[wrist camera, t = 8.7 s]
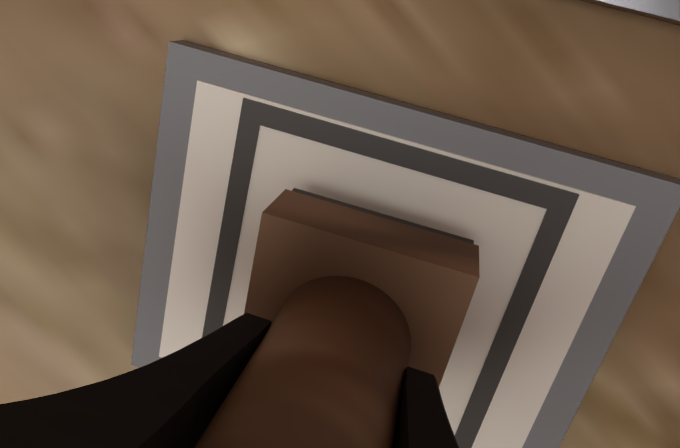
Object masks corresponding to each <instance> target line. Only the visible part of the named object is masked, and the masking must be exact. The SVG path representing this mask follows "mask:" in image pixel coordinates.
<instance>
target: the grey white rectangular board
mask: <svg viewBox="0 0 680 448" xmlns="http://www.w3.org/2000/svg"><path fill="white" fill-rule="evenodd" d="M294 188H297V189H300V190H303V191H307V192H310V193H314V194H317V195H321V196H324V197H327V198H331V199H334V200H338V201H341V202H344V203H348V204H351V205H355V206H358V207H362V208H365V209H368V210H372V211H375V212H379V213H382V214H386V215H389V216H392V217H396V218H399V219H403V220H406V221H409V222H413V223H416V224H420V225H423V226H427V227H430V228H433V229H437V230H440V231H444V232H447V233H450V234H454V235H457V236H461V237H464V238H468V239H471V240H474V244H475V245H478V246H479V275H480V278H479V280H478V283H477V286H476V289H475V291H474V294H473V297H472V299H471V302H470V305H469V307H468V310H467V313H466V316H465V318H464V321H463V324H462V326H461V329H460V332H459V335H458V337H457V340H456V343H455V345H454V348H453V351H452V353H451V356H450V359H449V362H448V364H447V367H446V370H445V372H444V375H443V378H442V381H441V383H440V386H439V390H440V394H441V397H442V401H443V404H444V407H445V410H446V413H447V416H448V419H449V422H450V425H451V428H452V431H453V433H454V436H455V438H456V441H457V443H458V446H459V448H559V446H560V444H561V442H562V440H563V438H564V436H565V434H566V432H567V430H568V428H569V426H570V424H571V422H572V420H573V418H574V416H575V414H576V412H577V410H578V408H579V406H580V404H581V402H582V400H583V398H584V396H585V394H586V392H587V390H588V388H589V386H590V384H591V382H592V380H593V378H594V376H595V374H596V372H597V370H598V368H599V366H600V364H601V362H602V360H603V358H604V356H605V354H606V352H607V350H608V349H609V347H610V345H611V343H612V341H613V339H614V337H615V335H616V333H617V331H618V329H619V327H620V325H621V323H622V321H623V319H624V317H625V315H626V313H627V311H628V309H629V307H630V305H631V303H632V301H633V299H634V297H635V295H636V293H637V291H638V289H639V287H640V285H641V283H642V281H643V279H644V277H645V275H646V273H647V271H648V269H649V267H650V265H651V263H652V261H653V259H654V257H655V255H656V253H657V251H658V249H659V247H660V245H661V243H662V241H663V239H664V238H665V236H666V234H667V232H668V230H669V228H670V226H671V224H672V222H673V220H674V218H675V216H676V214H677V212H678V210H679V208H680V180H679V179H677V178H673V177H670V176H666V175H662V174H659V173H655V172H652V171H648V170H645V169H641V168H637V167H634V166H630V165H627V164H623V163H620V162H616V161H612V160H609V159H605V158H602V157H598V156H594V155H591V154H587V153H584V152H580V151H577V150H573V149H569V148H566V147H562V146H559V145H555V144H552V143H548V142H544V141H541V140H537V139H534V138H530V137H526V136H523V135H519V134H516V133H512V132H509V131H505V130H501V129H498V128H494V127H491V126H487V125H484V124H480V123H476V122H473V121H469V120H466V119H462V118H459V117H455V116H451V115H448V114H444V113H441V112H437V111H433V110H430V109H426V108H423V107H419V106H416V105H412V104H408V103H405V102H401V101H398V100H394V99H391V98H387V97H383V96H380V95H376V94H373V93H369V92H365V91H362V90H358V89H355V88H351V87H348V86H344V85H340V84H337V83H333V82H330V81H326V80H323V79H319V78H315V77H312V76H308V75H305V74H301V73H298V72H294V71H290V70H287V69H283V68H280V67H276V66H272V65H269V64H265V63H262V62H258V61H255V60H251V59H247V58H244V57H240V56H237V55H233V54H230V53H226V52H222V51H219V50H215V49H212V48H208V47H204V46H201V45H197V44H194V43H190V42H187V41H183V40H181V41H169V46H168V55H167V63H166V72H165V80H164V89H163V97H162V106H161V114H160V123H159V131H158V140H157V149H156V157H155V166H154V174H153V183H152V191H151V200H150V208H149V217H148V225H147V234H146V243H145V251H144V260H143V268H142V277H141V285H140V294H139V302H138V311H137V319H136V328H135V337H134V345H133V354H132V362H131V365H134V366H137V367H143V366H145V365H148V364H150V363H152V362H154V361H156V360H158V359H161V358H163V357H165V356H167V355H169V354H171V353H174V352H176V351H178V350H180V349H182V348H184V347H185V346H187V345H189V344H191V343H193V342H195V341H197V340H199V339H201V338H202V337H204V336H206V335H208V334H210V333H211V332H213V331H215V330H217V329H219V328H220V327H222V326H224V325H225V324H227V323H229V322H231V321H232V320H234V319H236V318H238V317H239V316H241V315H243V314H244V310H245V305H246V299H247V294H248V288H249V282H250V277H251V271H252V266H253V260H254V255H255V249H256V243H257V238H258V232H259V227H260V221H261V216H262V212H263V211H264V210H265V209H266V208H267V207H268V206H269V205H270V204H271V203H272V202H273V201H274V200H275V199H276V198H277V197H278V196H279V195H280V194H281V193H282V192H283V191H284V190H285V189H287V190H291V191H292V190H293V189H294Z"/></svg>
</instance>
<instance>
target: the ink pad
mask: <svg viewBox="0 0 680 448" xmlns="http://www.w3.org/2000/svg"><path fill="white" fill-rule="evenodd" d="M581 1H585V2H589V3H593V4H597V5H601V6H605V7H609V8H613V9H617V10H621V11H625V12H629V13H633V14H637V15H641V16H645V17H649V18H653V19H657V20H661V21H665V22H669V23H673V24H677V25H680V0H581Z"/></svg>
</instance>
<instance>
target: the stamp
mask: <svg viewBox="0 0 680 448" xmlns="http://www.w3.org/2000/svg"><path fill="white" fill-rule="evenodd" d="M479 278H480V275H479V246H478V245H475V244H474V240H471V239H468V238H464V237H461V236H457V235H454V234H450V233H447V232H444V231H440V230H437V229H433V228H430V227H427V226H423V225H420V224H416V223H413V222H409V221H406V220H403V219H399V218H396V217H392V216H389V215H386V214H382V213H379V212H375V211H372V210H368V209H365V208H362V207H358V206H355V205H351V204H348V203H344V202H341V201H338V200H334V199H331V198H327V197H324V196H321V195H317V194H314V193H310V192H307V191H303V190H300V189H297V188H294V189H293V190H292V191H291V190H287V189H285V190H284V191H283V192H282V193H281V194H280V195H279V196H278V197H277V198H276V199H275V200H274V201H273V202H272V203H271V204H270V205H269V206H268V207H267V208H266V209H265V210H264V211H263V212H262V216H261V221H260V227H259V232H258V238H257V243H256V249H255V255H254V260H253V266H252V271H251V277H250V282H249V288H248V294H247V299H246V305H245V310H244V314H245V313H249V314H252V315H255V316H258V317H261V318H264V319H267V320H270V321H272V323H271V326H270V328H269V329H268V331H267V333H266V334H265V336H264V337H263V339H262V340H261V342H260V344H259V345H258V347H257V348H256V350H255V352H254V353H253V355H252V356H251V358H250V360H249V361H248V363H247V364H246V366H245V368H244V369H243V371H242V372H241V374H240V375H239V377H238V379H237V380H236V382H235V383H234V385H233V387H232V388H231V390H230V391H229V393H228V395H227V396H226V398H225V399H224V401H223V403H222V404H221V406H220V407H219V409H218V410H217V412H216V414H215V415H214V417H213V418H212V420H211V422H210V423H209V425H208V426H207V428H206V430H205V431H204V433H203V434H202V436H201V438H200V439H199V441H198V442H197V444H196V446H195V447H194V448H392V446H393V440H394V435H395V429H396V424H397V417H398V411H399V404H400V398H401V393H402V387H403V382H404V377H405V371H406V368H407V366H409V367H412V368H415V369H418V370H421V371H424V372H427V373H430V374H433V375H434V376H435V378H436V380H437V382H438V386H440V383H441V381H442V378H443V375H444V372H445V370H446V367H447V364H448V362H449V359H450V356H451V353H452V351H453V348H454V345H455V343H456V340H457V337H458V335H459V332H460V329H461V326H462V324H463V321H464V318H465V316H466V313H467V310H468V307H469V305H470V302H471V299H472V297H473V294H474V291H475V289H476V286H477V283H478V280H479Z"/></svg>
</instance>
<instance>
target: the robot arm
mask: <svg viewBox="0 0 680 448" xmlns="http://www.w3.org/2000/svg"><path fill="white" fill-rule="evenodd" d="M271 323H272V321H270V320H267V319H264V318H261V317H258V316H255V315H252V314H249V313H245V314H243V315H241V316H239V317H238V318H236V319H234V320H232V321H231V322H229V323H227V324H225V325H224V326H222V327H220V328H219V329H217V330H215V331H213V332H211V333H210V334H208V335H206V336H204V337H202V338H201V339H199V340H197V341H195V342H193V343H191V344H189V345H187V346H185V347H184V348H182V349H180V350H178V351H176V352H174V353H171V354H169V355H167V356H165V357H163V358H161V359H158V360H156V361H154V362H152V363H150V364H148V365H145V366H143V367H140V368H138V369H135V370H133V371H130V372H127V373H124V374H121V375H119V376H116V377H113V378H110V379H107V380H104V381H101V382H97V383H94V384H90V385H86V386H83V387H79V388H75V389H72V390H68V391H64V392H61V393H57V394H52V395H48V396H43V397H38V398H33V399H28V400H23V401H17V402H12V403H6V404H0V448H194V447H195V446H196V444H197V442H198V441H199V439H200V438H201V436H202V434H203V433H204V431H205V430H206V428H207V426H208V425H209V423H210V422H211V420H212V418H213V417H214V415H215V414H216V412H217V410H218V409H219V407H220V406H221V404H222V403H223V401H224V399H225V398H226V396H227V395H228V393H229V391H230V390H231V388H232V387H233V385H234V383H235V382H236V380H237V379H238V377H239V375H240V374H241V372H242V371H243V369H244V368H245V366H246V364H247V363H248V361H249V360H250V358H251V356H252V355H253V353H254V352H255V350H256V348H257V347H258V345H259V344H260V342H261V340H262V339H263V337H264V336H265V334H266V333H267V331H268V329H269V328H270V326H271ZM392 448H459V446H458V443H457V441H456V438H455V436H454V433H453V431H452V428H451V425H450V422H449V419H448V416H447V413H446V410H445V407H444V404H443V401H442V397H441V394H440V390H439V386H438V382H437V380H436V378H435V376H434V375H433V374H430V373H427V372H424V371H421V370H418V369H415V368H412V367H409V366H407V368H406V371H405V377H404V382H403V387H402V393H401V398H400V404H399V411H398V417H397V424H396V429H395V435H394V440H393V446H392Z"/></svg>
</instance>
